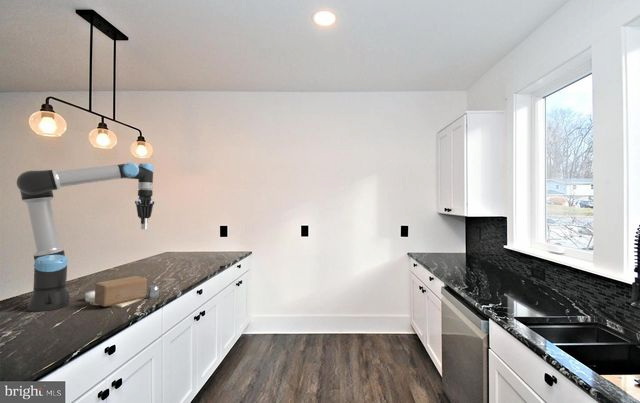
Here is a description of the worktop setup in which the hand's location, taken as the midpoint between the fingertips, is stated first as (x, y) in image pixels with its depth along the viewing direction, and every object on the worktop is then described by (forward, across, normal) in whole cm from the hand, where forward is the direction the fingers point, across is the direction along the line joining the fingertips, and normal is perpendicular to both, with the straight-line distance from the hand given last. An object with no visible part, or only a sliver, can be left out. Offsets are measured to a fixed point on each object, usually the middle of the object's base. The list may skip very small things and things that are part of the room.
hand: (144, 229), depth 180 cm
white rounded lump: (+35, -27, +5) cm, 44 cm away
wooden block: (+28, -17, -15) cm, 36 cm away
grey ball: (+35, -16, -21) cm, 43 cm away
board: (+34, -25, -9) cm, 43 cm away
